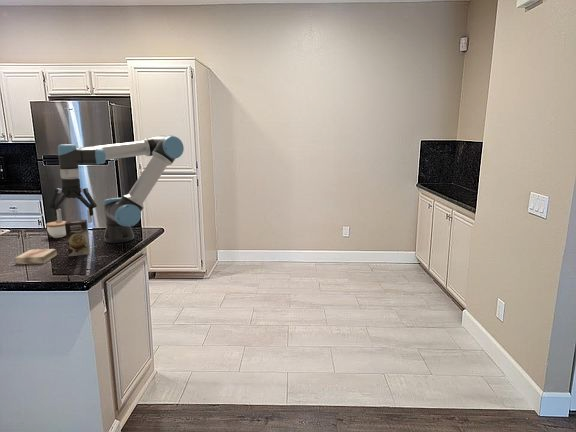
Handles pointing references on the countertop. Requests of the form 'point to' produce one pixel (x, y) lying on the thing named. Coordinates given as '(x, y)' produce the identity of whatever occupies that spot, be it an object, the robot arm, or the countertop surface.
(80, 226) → the coffee box
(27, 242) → the countertop surface
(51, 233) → the lidded jar
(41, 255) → the base block
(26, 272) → the countertop surface
